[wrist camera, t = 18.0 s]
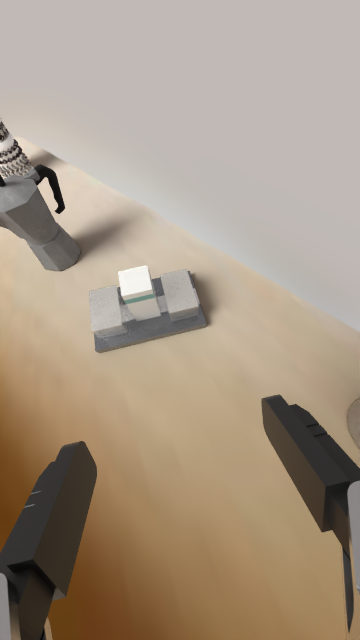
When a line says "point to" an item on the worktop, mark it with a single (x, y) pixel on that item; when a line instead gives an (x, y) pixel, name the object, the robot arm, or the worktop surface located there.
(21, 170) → the black and white cylinder
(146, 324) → the rail panel
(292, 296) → the worktop surface
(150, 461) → the worktop surface
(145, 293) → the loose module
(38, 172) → the coffeepot
